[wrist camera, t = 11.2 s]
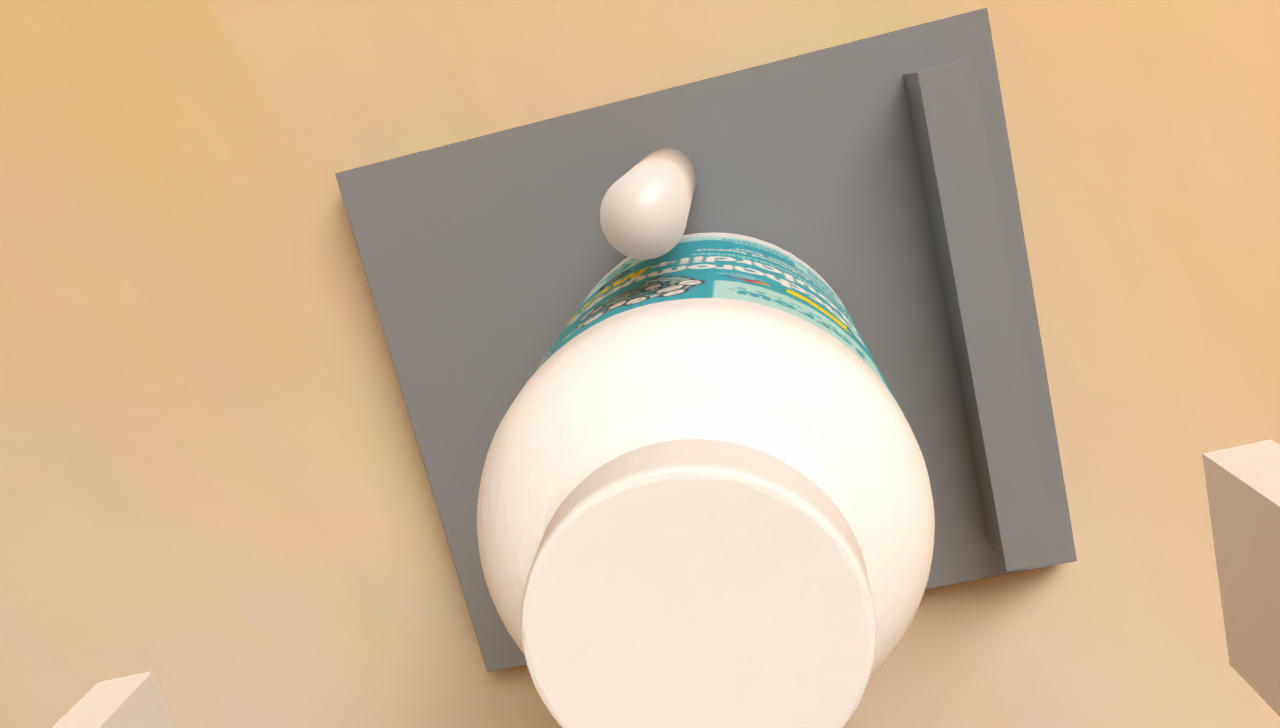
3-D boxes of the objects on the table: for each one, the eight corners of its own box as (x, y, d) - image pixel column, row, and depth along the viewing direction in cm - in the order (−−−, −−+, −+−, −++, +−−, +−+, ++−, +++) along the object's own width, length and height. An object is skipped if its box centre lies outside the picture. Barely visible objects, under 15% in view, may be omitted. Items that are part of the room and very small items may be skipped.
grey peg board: (494, 653, 30) (390, 915, 20) (348, 170, 27) (145, 210, 17) (1064, 545, 28) (1246, 777, 19) (976, 11, 25) (1140, -45, 15)
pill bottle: (863, 224, 25) (1017, 361, 12) (855, 510, 27) (982, 892, 14) (556, 228, 26) (395, 364, 13) (568, 509, 28) (437, 874, 15)
